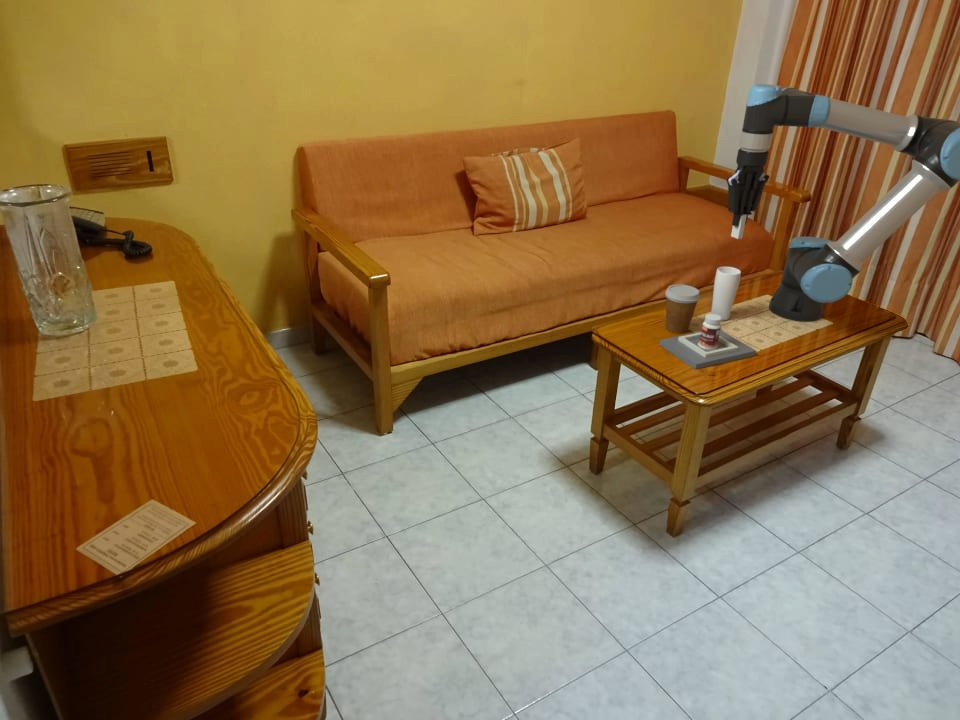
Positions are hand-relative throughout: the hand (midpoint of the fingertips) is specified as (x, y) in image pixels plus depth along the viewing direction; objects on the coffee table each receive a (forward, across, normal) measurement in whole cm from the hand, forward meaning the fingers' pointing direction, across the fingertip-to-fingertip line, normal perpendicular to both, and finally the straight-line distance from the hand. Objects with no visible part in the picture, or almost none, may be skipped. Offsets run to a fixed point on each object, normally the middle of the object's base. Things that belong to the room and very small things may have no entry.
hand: (736, 237), depth 187 cm
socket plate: (+26, +15, +12) cm, 33 cm away
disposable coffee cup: (+26, +14, -2) cm, 30 cm away
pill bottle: (+25, +15, +12) cm, 32 cm away
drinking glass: (+27, -3, -3) cm, 27 cm away
